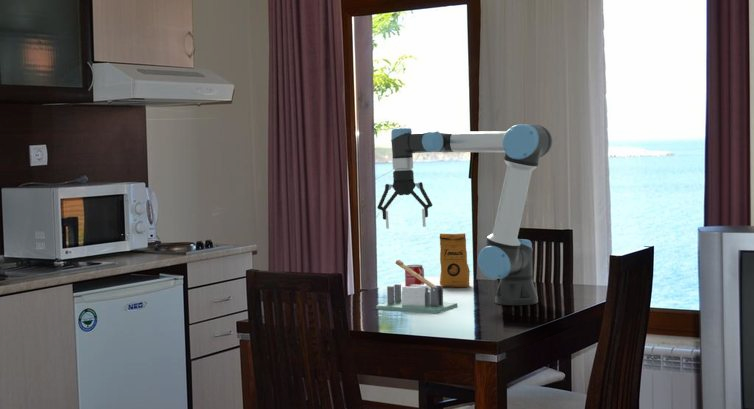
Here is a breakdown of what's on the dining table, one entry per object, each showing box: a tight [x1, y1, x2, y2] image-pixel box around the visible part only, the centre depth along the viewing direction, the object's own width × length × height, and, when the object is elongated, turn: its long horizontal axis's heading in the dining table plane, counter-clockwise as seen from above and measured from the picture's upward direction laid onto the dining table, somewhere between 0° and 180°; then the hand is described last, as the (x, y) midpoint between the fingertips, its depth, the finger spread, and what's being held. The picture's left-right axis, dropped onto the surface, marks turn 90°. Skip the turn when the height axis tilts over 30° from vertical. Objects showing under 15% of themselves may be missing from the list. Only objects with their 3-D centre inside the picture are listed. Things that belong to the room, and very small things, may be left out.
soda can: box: [404, 264, 425, 287], centre depth 346 cm, size 7×7×13 cm
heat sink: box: [401, 284, 431, 307], centre depth 328 cm, size 9×9×6 cm
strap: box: [395, 259, 436, 287], centre depth 328 cm, size 17×2×1 cm, turn 60°
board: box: [375, 299, 458, 314], centre depth 328 cm, size 24×16×1 cm, turn 60°
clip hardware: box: [386, 283, 444, 307], centre depth 328 cm, size 19×7×8 cm, turn 60°
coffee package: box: [439, 232, 471, 288], centre depth 381 cm, size 10×12×22 cm
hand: (405, 227), depth 343 cm, fingers open, 13 cm apart
